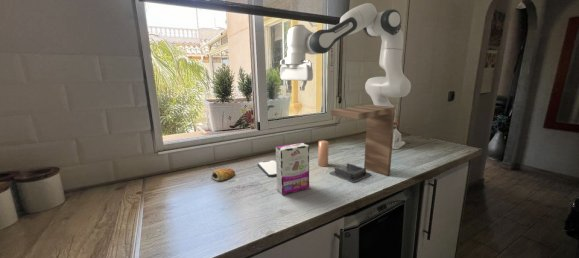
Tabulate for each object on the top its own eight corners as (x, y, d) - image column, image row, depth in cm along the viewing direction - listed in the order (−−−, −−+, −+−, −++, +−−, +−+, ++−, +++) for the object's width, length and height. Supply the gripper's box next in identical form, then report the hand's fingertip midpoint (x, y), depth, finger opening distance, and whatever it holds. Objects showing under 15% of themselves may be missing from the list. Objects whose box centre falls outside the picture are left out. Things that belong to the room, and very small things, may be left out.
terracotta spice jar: (322, 162, 121) (323, 140, 118) (330, 165, 117) (330, 141, 115) (316, 164, 118) (316, 141, 116) (323, 167, 114) (323, 143, 112)
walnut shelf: (364, 167, 115) (368, 104, 109) (389, 174, 106) (395, 107, 100) (328, 181, 100) (330, 109, 94) (354, 192, 91) (358, 113, 85)
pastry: (228, 171, 111) (228, 163, 110) (238, 175, 107) (238, 167, 106) (209, 178, 104) (209, 169, 103) (219, 183, 100) (219, 174, 99)
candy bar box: (302, 183, 98) (302, 142, 94) (309, 188, 93) (310, 145, 90) (275, 190, 93) (275, 146, 89) (282, 195, 88) (281, 149, 85)
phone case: (288, 175, 107) (274, 162, 122) (288, 171, 107) (274, 159, 121) (268, 179, 104) (256, 165, 118) (268, 175, 103) (256, 162, 118)
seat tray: (347, 167, 115) (347, 161, 114) (370, 175, 106) (371, 169, 105) (329, 173, 107) (329, 168, 107) (353, 183, 98) (353, 176, 98)
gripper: (316, 60, 117) (315, 90, 120) (287, 61, 133) (287, 88, 135) (306, 59, 113) (305, 91, 116) (278, 61, 129) (277, 89, 131)
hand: (295, 90), depth 126 cm, fingers open, 8 cm apart
